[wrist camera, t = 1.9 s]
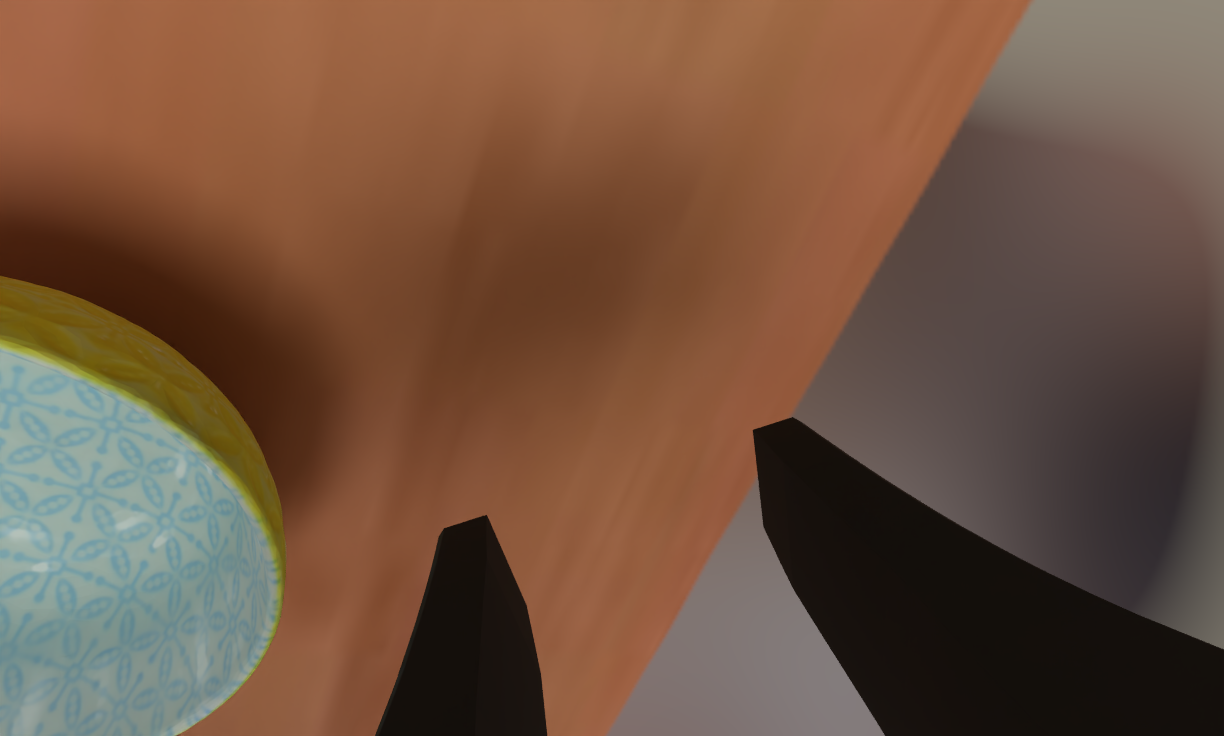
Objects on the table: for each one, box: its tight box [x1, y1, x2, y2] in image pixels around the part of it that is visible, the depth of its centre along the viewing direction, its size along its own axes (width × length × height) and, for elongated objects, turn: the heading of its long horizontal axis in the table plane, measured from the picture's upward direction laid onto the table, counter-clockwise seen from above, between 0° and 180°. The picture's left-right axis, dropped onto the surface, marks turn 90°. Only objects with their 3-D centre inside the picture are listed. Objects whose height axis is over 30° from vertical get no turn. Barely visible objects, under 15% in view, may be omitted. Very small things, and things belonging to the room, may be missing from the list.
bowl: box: [0, 276, 286, 736], centre depth 14 cm, size 11×12×6 cm
